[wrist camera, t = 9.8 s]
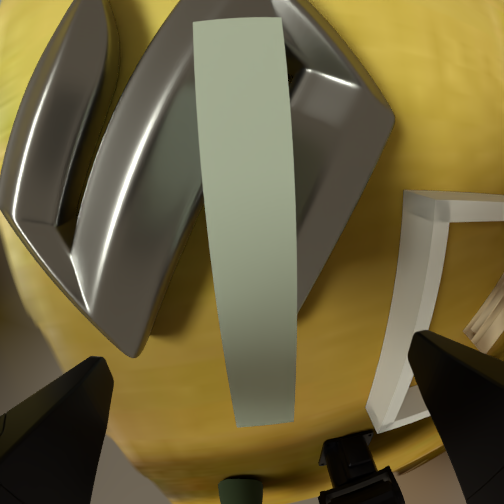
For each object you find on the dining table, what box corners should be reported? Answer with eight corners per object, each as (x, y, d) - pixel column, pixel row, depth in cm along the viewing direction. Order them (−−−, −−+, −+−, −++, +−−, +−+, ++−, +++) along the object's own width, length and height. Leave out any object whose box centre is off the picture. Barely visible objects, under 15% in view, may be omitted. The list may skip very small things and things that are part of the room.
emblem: (-19, 26, 7) (368, -59, 8) (17, 39, 13) (343, -27, 13) (38, 369, 17) (402, 339, 18) (63, 334, 22) (372, 304, 23)
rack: (483, 365, 27) (498, 382, 24) (365, 407, 27) (377, 433, 23) (529, 197, 20) (553, 206, 16) (403, 189, 19) (435, 199, 15)
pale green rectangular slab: (268, 310, 16) (293, 421, 9) (233, 313, 16) (236, 427, 9) (255, 87, 12) (281, 17, 5) (213, 90, 12) (192, 22, 5)
